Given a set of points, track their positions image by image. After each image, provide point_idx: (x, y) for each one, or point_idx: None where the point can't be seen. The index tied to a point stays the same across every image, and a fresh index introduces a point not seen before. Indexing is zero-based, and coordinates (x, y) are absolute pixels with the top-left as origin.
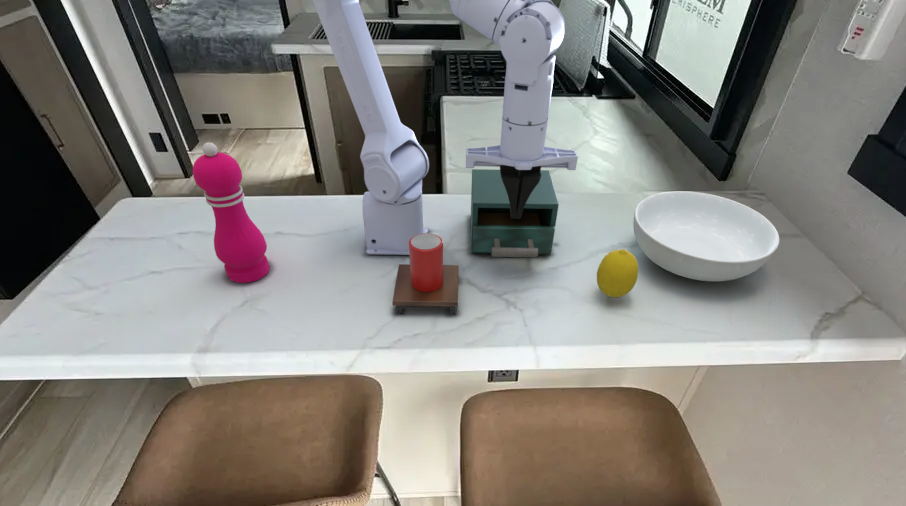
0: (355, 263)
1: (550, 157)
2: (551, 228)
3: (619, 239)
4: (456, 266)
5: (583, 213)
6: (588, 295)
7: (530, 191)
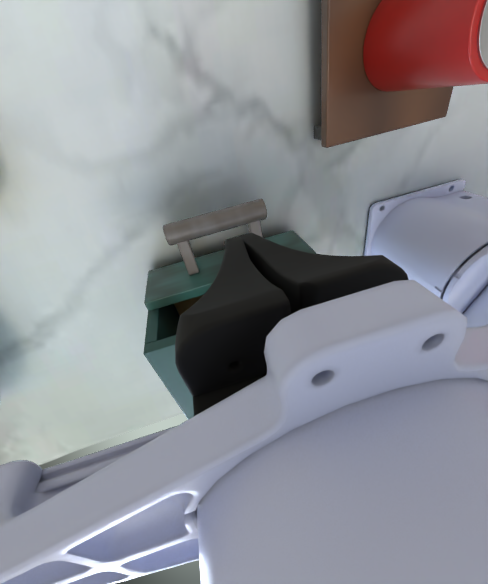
0: (484, 146)
1: (145, 510)
2: (152, 301)
3: (47, 354)
4: (331, 139)
5: (135, 389)
6: (12, 152)
7: (215, 285)
